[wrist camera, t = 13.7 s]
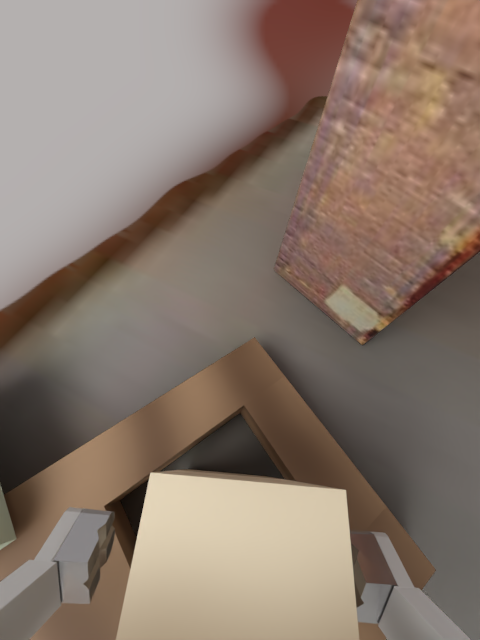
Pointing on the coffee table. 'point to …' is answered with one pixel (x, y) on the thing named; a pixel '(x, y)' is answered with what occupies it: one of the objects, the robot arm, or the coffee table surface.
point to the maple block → (240, 561)
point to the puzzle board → (165, 447)
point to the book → (391, 166)
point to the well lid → (5, 523)
